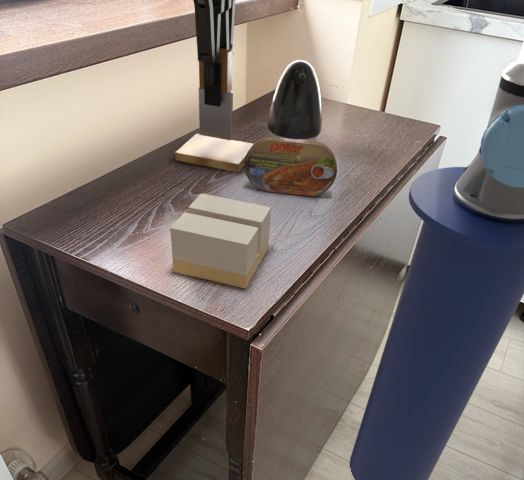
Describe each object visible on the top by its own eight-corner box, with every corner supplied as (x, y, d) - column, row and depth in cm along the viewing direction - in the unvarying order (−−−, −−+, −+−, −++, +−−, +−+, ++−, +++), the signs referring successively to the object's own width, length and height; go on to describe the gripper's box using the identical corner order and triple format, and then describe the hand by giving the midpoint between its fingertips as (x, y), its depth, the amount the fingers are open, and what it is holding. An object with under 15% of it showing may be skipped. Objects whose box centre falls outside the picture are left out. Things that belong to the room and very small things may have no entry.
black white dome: (266, 157, 95) (273, 67, 84) (265, 136, 102) (271, 51, 92) (321, 160, 95) (333, 71, 85) (315, 139, 103) (326, 54, 92)
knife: (233, 137, 92) (235, 50, 82) (229, 142, 90) (230, 53, 81) (202, 132, 93) (201, 45, 83) (197, 136, 91) (195, 48, 82)
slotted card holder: (268, 249, 72) (271, 207, 67) (245, 288, 65) (247, 244, 60) (202, 235, 73) (201, 193, 69) (173, 272, 66) (170, 227, 62)
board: (255, 151, 96) (255, 144, 95) (238, 172, 89) (238, 164, 88) (196, 141, 98) (196, 133, 97) (175, 160, 91) (174, 152, 90)
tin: (242, 188, 85) (244, 138, 79) (245, 180, 87) (247, 130, 81) (332, 199, 84) (340, 149, 78) (333, 191, 86) (341, 141, 80)
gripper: (211, -80, 77) (211, 86, 94) (168, -75, 66) (177, 112, 83) (257, -75, 76) (250, 92, 92) (222, -70, 65) (220, 120, 81)
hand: (215, 101), depth 87 cm, fingers closed on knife, 2 cm apart
